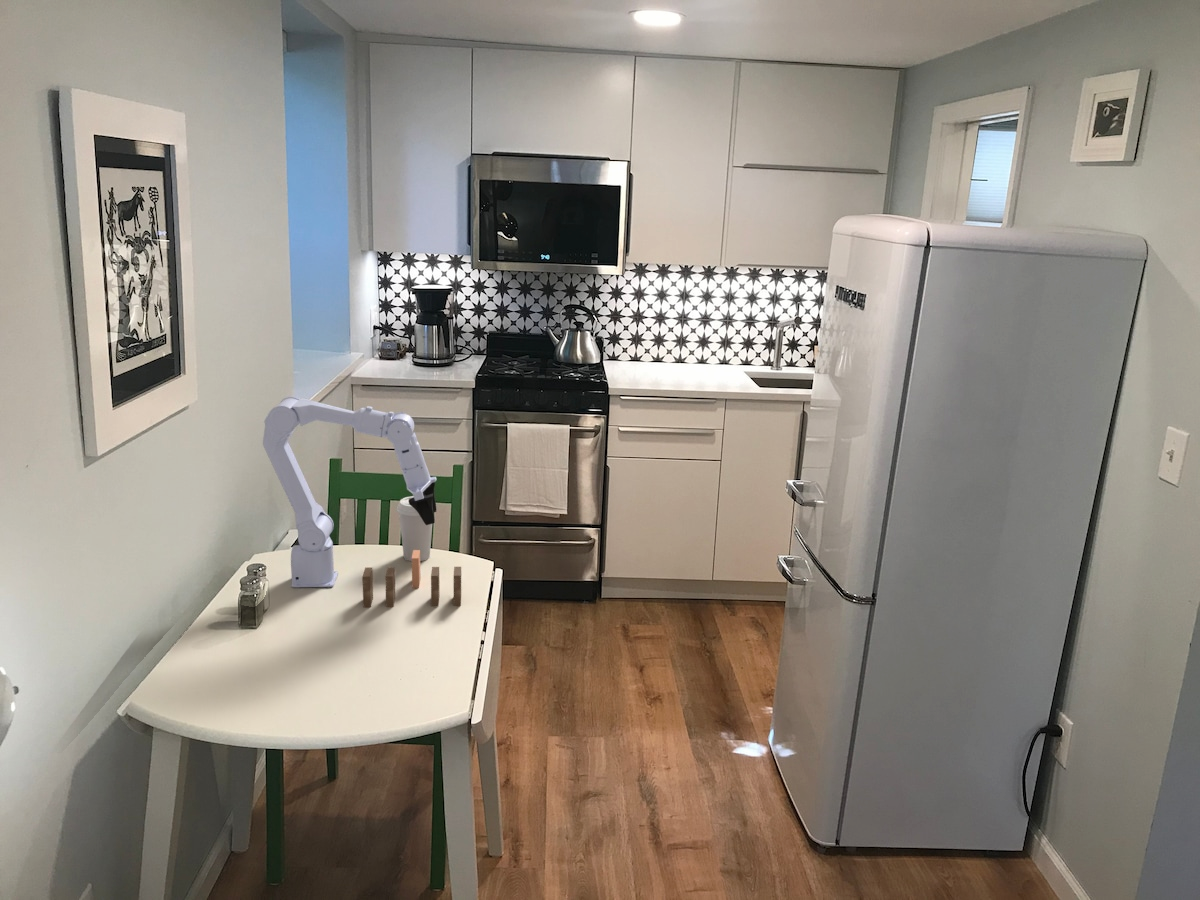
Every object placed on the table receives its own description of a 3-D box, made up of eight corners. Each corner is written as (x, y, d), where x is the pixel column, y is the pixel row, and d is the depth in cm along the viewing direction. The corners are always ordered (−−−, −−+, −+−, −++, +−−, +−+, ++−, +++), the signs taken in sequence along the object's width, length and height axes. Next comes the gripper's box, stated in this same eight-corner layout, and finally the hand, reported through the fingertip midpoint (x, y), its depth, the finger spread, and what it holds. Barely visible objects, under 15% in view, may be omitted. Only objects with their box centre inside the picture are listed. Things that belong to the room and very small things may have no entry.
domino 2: (386, 607, 210) (385, 576, 208) (388, 597, 215) (387, 567, 213) (393, 606, 211) (392, 576, 208) (395, 597, 215) (394, 567, 213)
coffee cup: (390, 560, 235) (389, 504, 231) (409, 547, 244) (407, 492, 239) (425, 566, 232) (424, 509, 228) (442, 552, 241) (441, 497, 237)
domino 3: (412, 587, 220) (411, 558, 218) (413, 578, 225) (413, 550, 223) (419, 587, 221) (418, 558, 219) (420, 578, 225) (420, 550, 223)
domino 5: (453, 606, 212) (453, 575, 210) (454, 596, 217) (454, 566, 215) (460, 605, 212) (460, 575, 210) (461, 596, 217) (461, 566, 215)
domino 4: (431, 606, 212) (430, 575, 209) (432, 596, 216) (432, 566, 214) (438, 606, 212) (438, 575, 210) (439, 596, 216) (439, 566, 214)
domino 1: (363, 607, 210) (362, 576, 208) (366, 597, 214) (365, 567, 212) (370, 607, 210) (369, 576, 208) (373, 597, 215) (372, 567, 213)
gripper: (427, 469, 208) (446, 523, 212) (431, 451, 222) (449, 503, 226) (397, 478, 208) (416, 532, 212) (402, 459, 222) (420, 511, 226)
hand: (431, 518), depth 219 cm, fingers open, 7 cm apart
